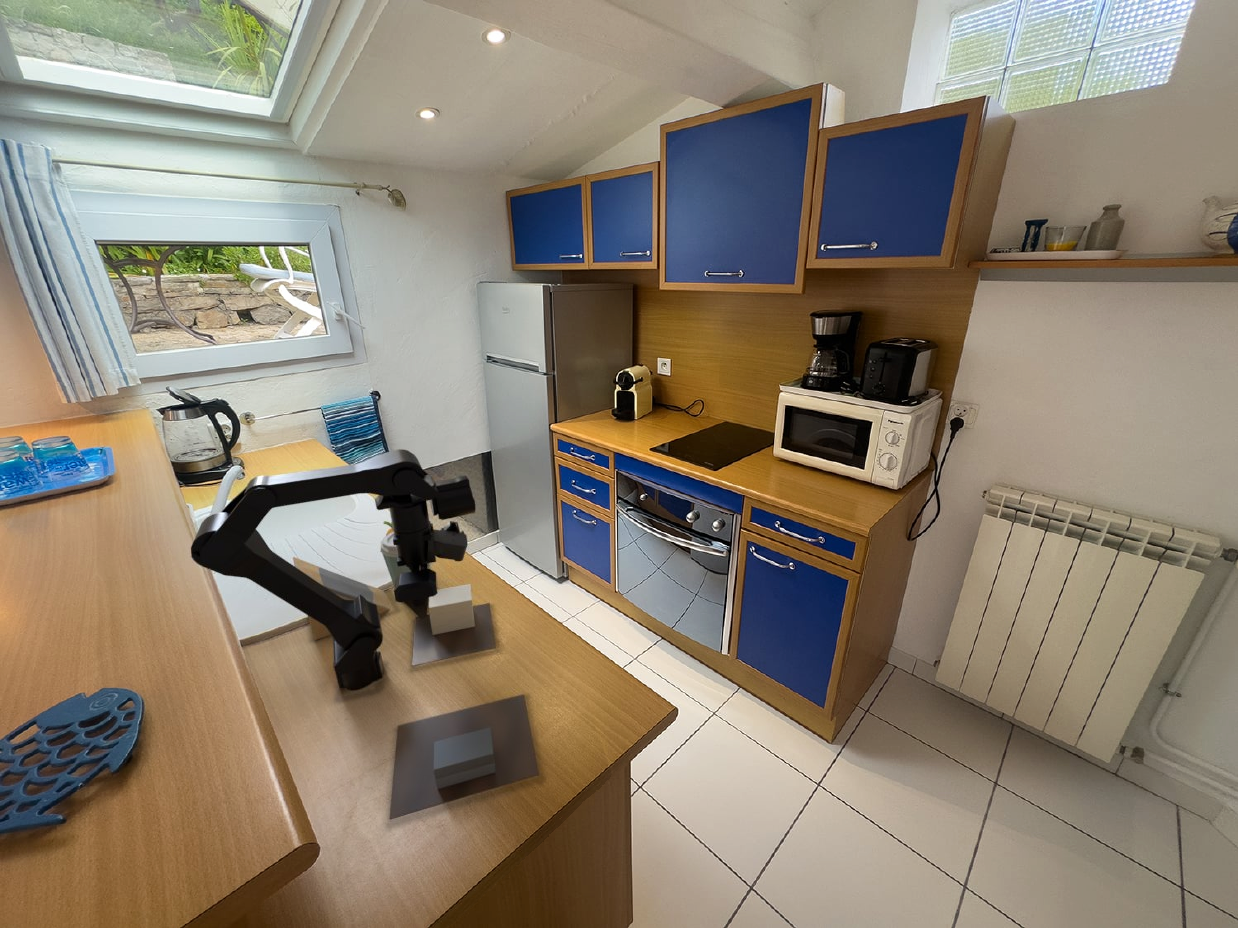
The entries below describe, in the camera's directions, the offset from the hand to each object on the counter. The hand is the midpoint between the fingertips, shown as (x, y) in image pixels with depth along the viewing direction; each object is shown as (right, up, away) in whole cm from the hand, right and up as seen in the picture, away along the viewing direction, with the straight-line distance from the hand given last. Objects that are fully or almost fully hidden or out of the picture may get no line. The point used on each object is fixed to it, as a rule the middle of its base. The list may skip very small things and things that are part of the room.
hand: (423, 601), depth 88 cm
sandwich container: (-21, -7, +16) cm, 27 cm away
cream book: (+1, -4, +11) cm, 12 cm away
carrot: (-17, -1, +31) cm, 35 cm away
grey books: (+13, -20, -16) cm, 28 cm away
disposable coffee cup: (-11, -5, +23) cm, 26 cm away
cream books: (+1, -8, +13) cm, 15 cm away
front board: (+12, -20, -13) cm, 26 cm away
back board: (+2, -10, +10) cm, 14 cm away
